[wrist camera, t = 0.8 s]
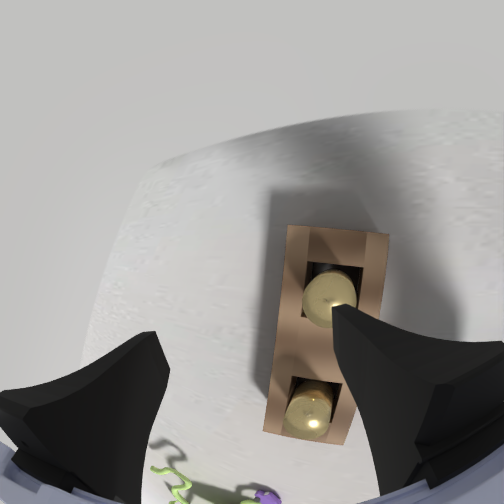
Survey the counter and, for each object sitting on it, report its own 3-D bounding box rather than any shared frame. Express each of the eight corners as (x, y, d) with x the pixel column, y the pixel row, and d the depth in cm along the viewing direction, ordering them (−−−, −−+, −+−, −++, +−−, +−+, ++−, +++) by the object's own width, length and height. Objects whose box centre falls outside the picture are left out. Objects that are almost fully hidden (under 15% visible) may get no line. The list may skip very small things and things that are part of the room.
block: (345, 420, 27) (343, 445, 22) (274, 408, 30) (262, 431, 25) (381, 236, 26) (389, 234, 21) (297, 228, 29) (287, 224, 24)
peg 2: (328, 413, 23) (323, 442, 19) (291, 407, 25) (280, 434, 20) (337, 382, 23) (333, 409, 19) (297, 376, 25) (286, 401, 20)
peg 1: (350, 315, 23) (351, 331, 18) (308, 309, 24) (298, 324, 20) (356, 271, 23) (360, 277, 18) (313, 266, 24) (305, 271, 19)
